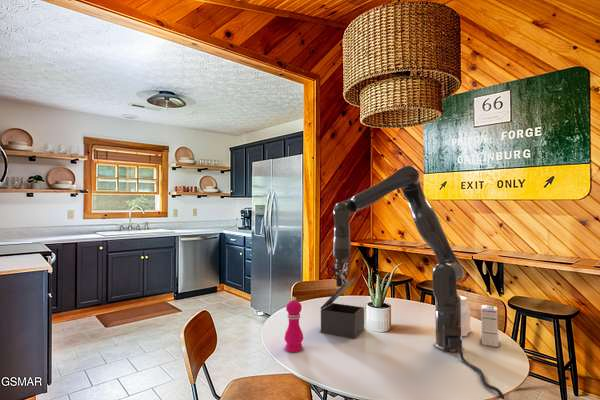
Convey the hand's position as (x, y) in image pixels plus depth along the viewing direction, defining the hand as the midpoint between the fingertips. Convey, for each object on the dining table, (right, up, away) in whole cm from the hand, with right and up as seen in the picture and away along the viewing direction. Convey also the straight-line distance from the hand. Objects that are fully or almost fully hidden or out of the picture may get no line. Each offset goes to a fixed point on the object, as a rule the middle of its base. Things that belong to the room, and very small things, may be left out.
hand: (341, 284), depth 154 cm
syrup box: (+58, -20, -15) cm, 63 cm away
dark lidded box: (+1, -20, -1) cm, 20 cm away
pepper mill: (-21, -20, -20) cm, 35 cm away
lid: (-1, -4, 0) cm, 4 cm away
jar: (+51, -20, -2) cm, 54 cm away
